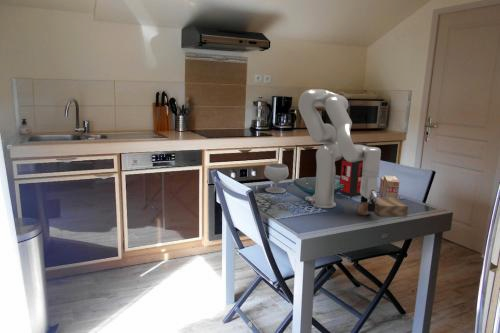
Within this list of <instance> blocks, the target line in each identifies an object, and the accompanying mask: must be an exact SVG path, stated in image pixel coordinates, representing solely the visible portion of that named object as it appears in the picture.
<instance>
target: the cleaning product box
mask: <svg viewBox="0 0 500 333" xmlns="http://www.w3.org/2000/svg"><path fill="white" fill-rule="evenodd" d="M340 166H341V167H340V178H339V185H340V184H344V188H343V189H342V190H340V191H339V190H338V193H339V194H341V195H344V196H347V197H349V198H351V197H356V196H357V197H358V196H361V194H360V186H361V180H362V169H363V160H359V161H356V162H348V161H346V160H345V159H344V158H341V164H340Z"/></svg>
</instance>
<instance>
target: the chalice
mask: <svg viewBox="0 0 500 333" xmlns="http://www.w3.org/2000/svg"><path fill="white" fill-rule="evenodd" d="M289 171H290V170H289V168H288V165H286V164H284V163H279V162H277V163H275V162H273V163H267V164H266V165H265V168H264V171H263V173H264V176H265V178H267V179H268V180H269V181H271V182H272V183H273V185H274V186H270V187H266V188H265V189H264V190H265V192H268V193H271V194H283V193H284V194H285V193H287V189H286V188H284V187H279V186H278V184H279V183H280V182H282V181H284V180H285V179H287V178H288V177H289Z"/></svg>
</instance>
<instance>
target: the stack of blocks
mask: <svg viewBox="0 0 500 333" xmlns="http://www.w3.org/2000/svg"><path fill="white" fill-rule="evenodd" d="M379 181H380V183H379V194H380V196H381V197H396V198H397V199H398V195H399V189H400V188H399V187H400V183H401V182H400V180H399V179H398V178H397V177H396V176H395V175H383V176H380V180H379Z"/></svg>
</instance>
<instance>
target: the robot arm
mask: <svg viewBox="0 0 500 333" xmlns="http://www.w3.org/2000/svg"><path fill="white" fill-rule="evenodd" d="M297 104H298V110H299V113H300V115H301V117H302V119H303V122H304V123H305V127H306V128H307V131H308V134H309V135H310V138H311V140H312V141H313V143H315V144H323V145H320V146H319V147H318V148H317V150H316V152H315V160H316V173H315V174H316V175H315V190H314V193H313V194H312V195H311V196H305V198H304V199H305V201H308V202H311V206H314V207H317V208H321V209H331V208H332V209H333V208H335V207H336V206H337V202H336V201H334V199H335V196H334V195H335V185H336V175H337V174H336V173H337V171H336V169H337V168H336V162H337V161H340V160H342V159H345V160H346V161H348V162H356V161H359V160H363V169H362V180H361V186H360V194H361V195H360V202H367V203H368V202H369V203H368V212H370V213H371V212H372V213H375V212H374V211H375V204H376V199H377V197H378V195H377V194H378V179H379V175H380V166H381V156H382V154H381V153H382V150H381V148H379V147H376V146H367V145H364V144H354V142H353V139H352V138H351V128H352V126H353V125H352V124H353V121H352V119H351V117H350V116H349V113H348V112H347V110H348V108H349V101H348V99H347V98H346V97H345V96H343V95H340V94H337V93H336V92H335V93H334V92H332V91H330V90H327V89H322V88H321V89H320V88H317V89H316V88H310V89H306V90H305V91H304V92H303V93H302V94H300V97H299V98H298V103H297ZM316 107H323V108H324V110H325V111H326V114H327V115H328V118H329V119H330V120H329V121H331V123H324V121H323V119H322V116H321V114H320V112H319V111H318V110H317V109H316ZM371 199H372V200H371Z"/></svg>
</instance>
